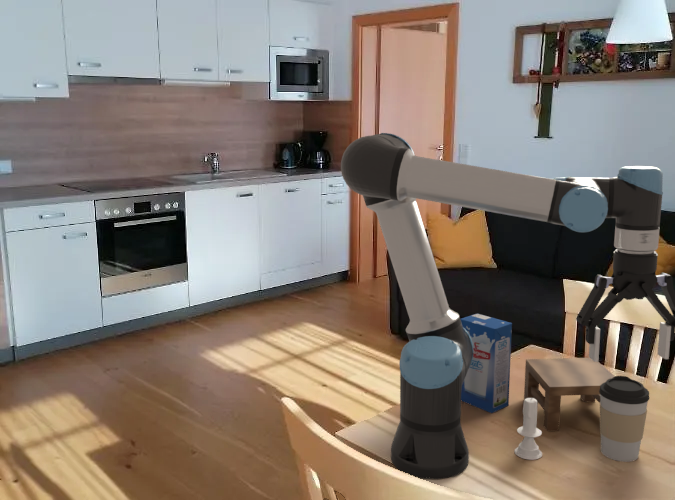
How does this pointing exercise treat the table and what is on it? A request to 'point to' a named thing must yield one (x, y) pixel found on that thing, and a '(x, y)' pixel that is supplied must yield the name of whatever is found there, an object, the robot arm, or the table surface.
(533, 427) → the candle
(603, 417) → the coffee cup
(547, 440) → the table surface
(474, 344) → the milk carton
